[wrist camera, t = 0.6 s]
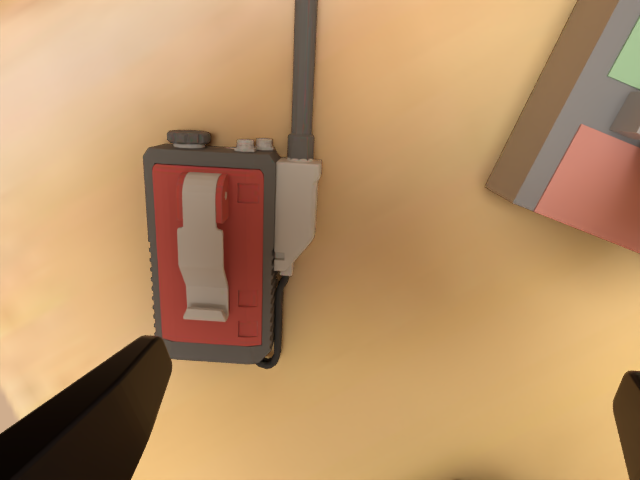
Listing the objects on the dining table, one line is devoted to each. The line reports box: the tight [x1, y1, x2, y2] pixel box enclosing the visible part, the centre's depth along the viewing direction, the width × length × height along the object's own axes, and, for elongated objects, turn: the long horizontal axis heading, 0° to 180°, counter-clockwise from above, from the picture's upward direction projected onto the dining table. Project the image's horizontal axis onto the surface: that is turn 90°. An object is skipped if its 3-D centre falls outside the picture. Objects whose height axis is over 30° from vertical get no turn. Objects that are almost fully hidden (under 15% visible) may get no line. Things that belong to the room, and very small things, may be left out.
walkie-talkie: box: [143, 0, 322, 369], centre depth 23 cm, size 9×4×20 cm
